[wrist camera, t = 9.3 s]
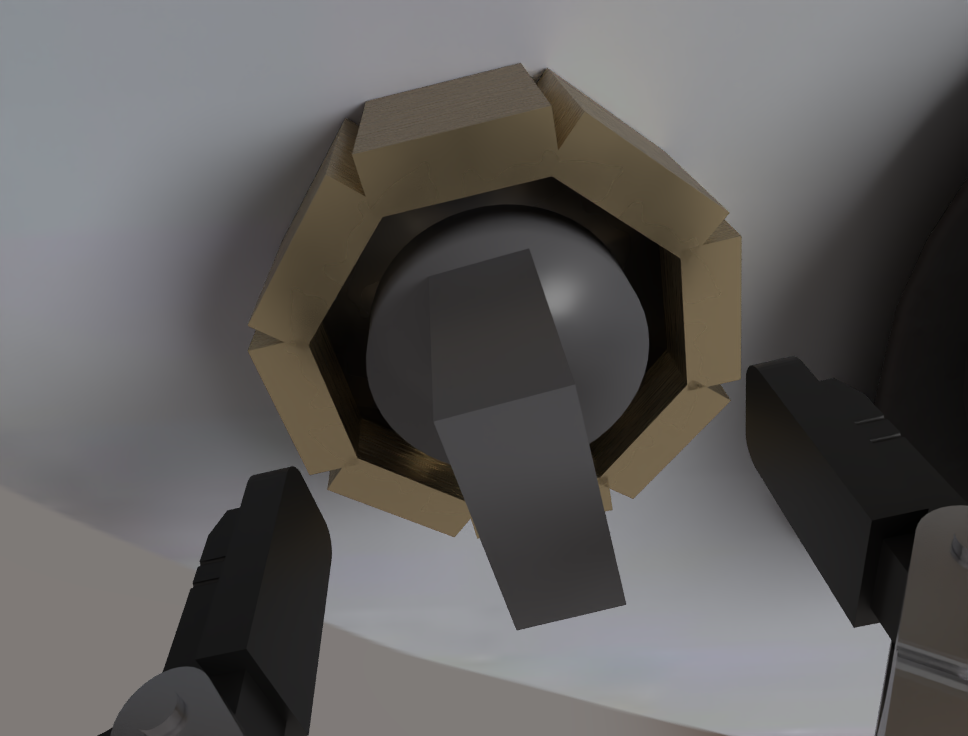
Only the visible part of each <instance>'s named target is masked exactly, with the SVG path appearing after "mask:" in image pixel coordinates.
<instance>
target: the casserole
mask: <svg viewBox="0 0 968 736" xmlns="http://www.w3.org/2000/svg"><path fill="white" fill-rule="evenodd" d="M874 405H875V406H876V407H877V408H878V409H879V410H880V411H881V412H882V413H883V414H884V418H885V420H886V419H888V420H889V421H890V422H891V423H892V424H893V425H894V426H895V427H896V428H897V429H898V430H899V431H900V434H901V437H905V438H906V439H907V440H908V441H909V442H910V443H911V444H912V445H913V446H914V447H915V448H916V450H917V451H918V452H919V453H920V454H921V455H922V456H923V457H924V458H925V459H926V460H927V461H928V462H929V463H930V464H931V466H932V467H933V468H934V469H935V470H936V471H937V472H938V473H939V474H940V475H941V476H942V477H943V478H944V479H945V480H946V482H947V483H948V484H949V485H950V486H951V487H952V488H953V489H954V490H955V491H956V492H957V493H958V494H959V495H960V496H961V497H962V499H963V500H964V501H965V502H966V503H967V504H968V178H967V179H966V181H965V182H964V184H963V185H962V187H961V188H960V190H959V191H958V193H957V194H956V196H955V198H954V199H953V201H952V202H951V204H950V205H949V207H948V208H947V210H946V211H945V213H944V214H943V216H942V217H941V219H940V220H939V222H938V224H937V225H936V227H935V228H934V230H933V231H932V233H931V234H930V236H929V237H928V239H927V241H926V243H925V246H924V248H923V250H922V252H921V254H920V257H919V259H918V261H917V263H916V265H915V268H914V270H913V272H912V274H911V276H910V279H909V281H908V283H907V285H906V287H905V290H904V292H903V294H902V296H901V298H900V301H899V303H898V305H897V308H896V312H895V316H894V320H893V325H892V329H891V333H890V337H889V342H888V346H887V350H886V354H885V359H884V363H883V367H882V372H881V376H880V380H879V385H878V389H877V394H876V398H875V402H874Z"/></svg>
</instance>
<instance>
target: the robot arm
mask: <svg viewBox="0 0 968 736" xmlns="http://www.w3.org/2000/svg"><path fill="white" fill-rule="evenodd" d="M746 441H747V446H748V450H749V453H750V456H751V459H752V461H753V464H754V466H755V468H756V469H757V471H758V473H759V474H760V476H761V478H762V479H763V481H764V482H765V484H766V486H767V487H768V489H769V491H770V492H771V494H772V495H773V497H774V499H775V500H776V502H777V504H778V505H779V507H780V508H781V510H782V512H783V513H784V515H785V517H786V518H787V520H788V521H789V523H790V525H791V526H792V528H793V530H794V531H795V533H796V534H797V536H798V538H799V539H800V541H801V543H802V544H803V546H804V547H805V549H806V551H807V552H808V554H809V556H810V557H811V559H812V560H813V562H814V564H815V565H816V567H817V569H818V570H819V572H820V573H821V575H822V577H823V578H824V580H825V581H826V583H827V585H828V586H829V588H830V590H831V591H832V593H833V594H834V596H835V598H836V599H837V601H838V603H839V604H840V606H841V607H842V609H843V611H844V612H845V614H846V616H847V617H848V619H849V620H850V622H851V624H852V625H853V627H854V628H855V627H860V626H865V625H870V624H875V623H881V625H882V626H883V628H884V629H885V631H886V632H887V634H888V635H889V637H890V638H891V644H890V648H889V654H888V660H887V665H886V671H885V677H884V683H883V689H882V695H881V701H880V706H879V712H878V718H877V724H876V730H875V736H968V504H967V503H966V502H965V501H964V500H963V499H962V497H961V496H960V495H959V494H958V493H957V492H956V491H955V490H954V489H953V488H952V487H951V486H950V485H949V484H948V483H947V482H946V480H945V479H944V478H943V477H942V476H941V475H940V474H939V473H938V472H937V471H936V470H935V469H934V468H933V467H932V466H931V464H930V463H929V462H928V461H927V460H926V459H925V458H924V457H923V456H922V455H921V454H920V453H919V452H918V451H917V450H916V448H915V447H914V446H913V445H912V444H911V443H910V442H909V441H908V440H907V439H906V438H905V437H901V434H900V431H899V430H898V429H897V428H896V427H895V426H894V425H893V424H892V423H891V422H890V421H889V420H888V419H886V420H885V418H884V414H883V413H882V412H881V411H880V410H879V409H878V408H877V407H876V406H875V405H874V404H873V403H872V402H871V401H870V399H869V398H868V397H867V396H866V395H865V394H864V393H862V392H860V391H858V390H856V389H854V388H852V387H850V386H848V385H847V384H845V383H843V382H841V381H839V380H837V379H835V378H833V379H828V380H824V381H818V380H817V379H816V377H815V376H814V375H813V374H812V373H811V372H810V370H809V369H808V368H807V367H806V366H805V365H804V364H803V362H802V361H801V360H800V359H798V358H797V357H794V356H793V357H788V358H783V359H779V360H774V361H770V362H765V363H761V364H756V365H752V366H749V368H748V370H747V373H746ZM331 559H332V546H331V539H330V534H329V530H328V527H327V524H326V522H325V520H324V518H323V516H322V514H321V512H320V510H319V508H318V506H317V504H316V502H315V500H314V498H313V497H312V495H311V493H310V491H309V489H308V487H307V485H306V483H305V481H304V479H303V477H302V475H301V473H300V472H299V470H298V469H297V468H296V467H288V468H283V469H279V470H274V471H270V472H265V473H261V474H256V475H253V476H251V477H250V478H249V480H248V483H247V486H246V489H245V493H244V496H243V499H242V503H241V506H240V508H237V509H232V510H227V512H226V513H225V514H224V516H223V517H222V518H221V520H220V521H219V522H218V524H217V525H216V526H215V527H214V529H213V530H212V531H211V533H210V534H209V535H208V538H207V541H206V544H205V547H204V550H203V553H202V556H201V559H200V566H199V567H198V568H197V571H196V574H195V577H194V580H193V588H191V589H190V592H189V595H188V598H187V602H186V604H185V608H184V610H183V613H182V616H181V619H180V622H179V625H178V628H177V631H176V634H175V637H174V640H173V643H172V646H171V649H170V652H169V655H168V658H167V661H166V664H165V667H164V670H163V672H162V673H161V674H159V675H157V676H155V677H153V678H152V679H150V680H149V681H148V682H146V683H145V684H144V685H143V686H142V687H140V688H139V689H138V690H137V691H136V692H135V693H134V694H133V695H132V696H131V697H130V699H129V700H128V701H127V702H126V703H125V705H124V706H123V708H122V709H121V711H120V712H119V714H118V716H117V718H116V720H115V722H114V725H113V728H111V729H109V730H108V731H106V732H104V733H102V734H100V735H98V736H307V735H309V728H310V720H311V713H312V705H313V697H314V689H315V682H316V674H317V667H318V659H319V651H320V643H321V635H322V628H323V621H324V613H325V605H326V598H327V590H328V582H329V575H330V567H331Z"/></svg>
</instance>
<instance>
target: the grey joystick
mask: <svg viewBox="0 0 968 736" xmlns="http://www.w3.org/2000/svg"><path fill="white" fill-rule="evenodd" d="M648 352H649V334H648V326H647V322H646V317H645V313H644V311H643V308H642V306H641V303H640V301H639V298H638V297H637V295H636V293H635V292H634V290H633V288H632V286H631V285H630V283H629V281H628V279H627V278H626V276H625V274H624V273H623V271H622V269H621V267H620V266H619V264H618V262H617V261H616V259H615V257H614V256H613V254H612V253H611V251H610V250H609V249H608V248H607V247H606V246H605V244H604V243H603V242H602V241H601V240H600V239H599V238H598V237H597V236H595V235H594V234H593V233H592V232H591V231H590V230H588V229H587V228H585V227H584V226H582V225H581V224H579V223H578V222H576V221H574V220H572V219H570V218H568V217H566V216H564V215H562V214H559V213H556V212H553V211H550V210H547V209H543V208H539V207H533V206H527V205H513V204H501V205H490V206H483V207H478V208H474V209H469V210H465V211H463V212H460V213H457V214H454V215H451V216H449V217H447V218H445V219H443V220H441V221H439V222H437V223H435V224H433V225H431V226H430V227H428V228H427V229H425V230H424V231H422V232H421V233H419V234H418V235H417V236H416V237H414V238H413V239H412V240H411V241H410V242H409V243H408V244H407V245H405V246H404V247H403V248H402V250H401V251H400V252H399V253H398V254H397V255H396V257H395V258H394V259H393V260H392V262H391V263H390V265H389V266H388V268H387V269H386V271H385V273H384V274H383V276H382V278H381V281H380V283H379V285H378V287H377V289H376V293H375V296H374V300H373V304H372V310H371V318H370V326H369V335H368V344H367V352H366V369H367V377H368V382H369V387H370V390H371V393H372V395H373V398H374V401H375V403H376V405H377V407H378V408H379V410H380V412H381V414H382V416H383V417H384V418H385V420H386V421H387V422H388V424H389V425H390V426H391V427H392V428H393V429H394V430H395V431H396V432H397V433H398V434H399V435H400V436H401V437H402V438H403V439H404V440H405V441H407V442H408V443H409V444H411V445H412V446H413V447H414V448H416V449H418V450H420V451H421V452H423V453H425V454H426V455H428V456H430V457H433V458H435V459H437V460H439V461H442V462H445V463H448V464H450V465H451V467H452V470H453V472H454V475H455V477H456V480H457V482H458V485H459V487H460V490H461V492H462V495H463V497H464V500H465V502H466V505H467V507H468V510H469V512H470V515H471V517H472V520H473V522H474V525H475V527H476V530H477V532H478V535H479V537H480V540H481V542H482V545H483V547H484V550H485V552H486V555H487V557H488V560H489V562H490V565H491V567H492V570H493V572H494V575H495V577H496V580H497V582H498V585H499V587H500V590H501V592H502V595H503V597H504V600H505V602H506V605H507V607H508V610H509V612H510V615H511V617H512V620H513V622H514V625H515V627H516V630H521V629H525V628H529V627H533V626H538V625H542V624H546V623H550V622H555V621H559V620H563V619H567V618H572V617H576V616H580V615H584V614H589V613H593V612H597V611H601V610H606V609H610V608H614V607H618V606H623V605H626V601H625V597H624V592H623V588H622V584H621V580H620V575H619V571H618V567H617V562H616V558H615V554H614V549H613V545H612V541H611V536H610V532H609V528H608V524H607V519H606V515H605V511H604V506H603V502H602V498H601V493H600V489H599V485H598V480H597V476H596V472H595V468H594V463H593V459H592V455H591V450H590V446H589V444H590V443H591V442H593V441H594V440H596V439H597V438H599V437H600V436H601V435H602V434H603V433H604V432H606V431H607V430H608V429H609V428H610V427H611V426H612V425H613V424H614V423H615V422H616V421H617V420H618V419H619V418H620V417H621V416H622V414H623V413H624V411H625V410H626V409H627V407H628V406H629V405H630V403H631V402H632V400H633V398H634V396H635V394H636V393H637V391H638V389H639V387H640V384H641V381H642V379H643V376H644V373H645V369H646V365H647V361H648Z"/></svg>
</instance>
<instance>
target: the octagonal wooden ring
mask: <svg viewBox="0 0 968 736" xmlns="http://www.w3.org/2000/svg"><path fill="white" fill-rule="evenodd" d="M501 204H513V205H527V206H533V207H539V208H543V209H547V210H550V211H553V212H556V213H559V214H562V215H564V216H566V217H568V218H570V219H572V220H574V221H576V222H578V223H579V224H581V225H582V226H584V227H585V228H587V229H588V230H590V231H591V232H592V233H593V234H594V235H595V236H597V237H598V238H599V239H600V240H601V241H602V242H603V243H604V244H605V246H606V247H607V248H608V249H609V250H610V251H611V253H612V254H613V256H614V257H615V259H616V261H617V262H618V264H619V266H620V267H621V269H622V271H623V273H624V274H625V276H626V278H627V279H628V281H629V283H630V285H631V286H632V288H633V290H634V292H635V293H636V295H637V297H638V298H639V301H640V303H641V306H642V308H643V311H644V313H645V317H646V322H647V326H648V334H649V352H648V361H647V365H646V369H645V373H644V376H643V379H642V381H641V384H640V387H639V389H638V391H637V393H636V394H635V396H634V398H633V400H632V402H631V403H630V405H629V406H628V407H627V409H626V410H625V411H624V413H623V414H622V416H621V417H620V418H619V419H618V420H617V421H616V422H615V423H614V424H613V425H612V426H611V427H610V428H609V429H608V430H607V431H606V432H604V433H603V434H602V435H601V436H600V437H599V438H597V439H596V440H594V441H593V442H591V443H590V444H589V446H590V450H591V455H592V459H593V463H594V468H595V472H596V476H597V480H598V485H599V489H600V493H601V498H602V502H603V506H604V511H609V510H613V509H612V503H611V496H610V490H609V488H610V489H612V490H614V491H617V492H619V493H621V494H623V495H626V496H628V497H630V498H632V499H634V498H635V497H636V496H637V495H638V494H639V493H640V492H641V491H642V490H643V489H644V488H645V487H646V486H647V484H648V483H649V482H650V481H651V480H652V479H653V478H654V477H655V476H656V475H657V474H658V473H659V472H660V471H661V470H662V469H663V468H664V467H665V466H666V465H667V464H668V463H669V462H670V461H671V460H672V459H673V458H674V457H675V456H676V455H677V454H678V453H679V452H680V451H681V450H682V449H683V448H684V447H685V446H686V445H687V444H688V443H689V442H690V441H691V440H692V439H693V438H694V437H695V436H696V435H697V434H698V433H699V432H700V431H701V430H702V429H703V428H704V427H705V426H706V425H707V424H708V423H709V422H710V421H711V420H712V419H713V418H714V417H715V416H716V415H717V414H718V413H719V412H720V411H721V410H722V409H723V408H724V407H725V406H726V405H727V404H728V403H729V402H730V401H731V400H730V399H729V397H728V395H727V394H726V392H725V391H724V389H723V388H722V386H721V385H720V384H722V383H727V382H731V381H736V380H740V379H741V235H740V234H739V233H738V232H737V231H736V230H734V229H733V228H732V227H731V226H730V225H729V224H728V223H727V222H726V221H725V220H724V219H725V218H726V216H727V215H728V214H729V212H728V211H727V210H726V209H725V208H724V207H723V206H722V205H721V204H720V203H719V202H718V201H717V200H716V199H715V198H714V197H712V196H711V195H710V194H709V193H708V192H707V191H706V190H705V189H704V188H703V187H702V186H701V185H700V184H699V183H698V182H697V181H696V180H694V179H693V178H692V177H691V176H690V175H689V174H688V173H687V172H686V171H685V170H684V169H683V168H682V167H681V166H680V165H679V164H678V163H676V162H675V161H674V160H673V159H672V158H671V157H670V156H669V155H668V154H667V153H666V152H665V151H663V150H662V149H661V148H659V147H658V146H656V145H655V144H654V143H652V142H651V141H649V140H648V139H647V138H645V137H644V136H642V135H641V134H640V133H638V132H637V131H635V130H634V129H632V128H631V127H630V126H628V125H627V124H625V123H624V122H623V121H621V120H620V119H618V118H617V117H616V116H614V115H613V114H611V113H610V112H609V111H607V110H606V109H604V108H603V107H602V106H600V105H599V104H597V103H596V102H595V101H593V100H592V99H590V98H589V97H587V96H586V95H585V94H583V93H582V92H580V91H579V90H578V89H576V88H575V87H573V86H572V85H571V84H569V83H568V82H566V81H565V80H564V79H562V78H561V77H559V76H558V75H557V74H555V73H554V72H552V71H551V70H549V69H548V68H547V69H546V70H545V72H544V73H543V75H542V76H541V78H540V80H539V81H538V83H537V84H536V83H535V82H534V81H533V79H532V78H531V76H530V75H529V74H528V72H527V71H526V69H525V68H524V67H523V65H522V64H521V63H518V64H514V65H510V66H506V67H502V68H498V69H494V70H490V71H486V72H482V73H478V74H474V75H470V76H466V77H462V78H458V79H454V80H450V81H446V82H442V83H438V84H434V85H430V86H426V87H422V88H418V89H414V90H410V91H406V92H402V93H398V94H394V95H390V96H386V97H382V98H378V99H374V100H370V101H366V103H365V107H364V111H363V115H362V119H361V122H360V126H358V125H357V124H355V123H353V122H352V121H350V120H348V119H347V118H345V120H344V122H343V124H342V126H341V128H340V129H339V131H338V133H337V135H336V137H335V139H334V141H333V143H332V145H331V147H330V149H329V151H328V153H327V155H326V157H325V159H324V161H323V163H322V165H321V167H320V169H319V171H318V173H317V174H316V176H315V178H314V180H313V182H312V184H311V186H310V188H309V190H308V192H307V194H306V196H305V198H304V200H303V202H302V204H301V206H300V208H299V210H298V212H297V214H296V216H295V218H294V219H293V221H292V223H291V225H290V227H289V229H288V231H287V233H286V235H285V237H284V239H283V241H282V243H281V245H280V248H279V250H278V253H277V255H276V257H275V260H274V262H273V265H272V267H271V270H270V272H269V275H268V277H267V279H266V282H265V284H264V287H263V289H262V292H261V294H260V296H259V299H258V301H257V304H256V306H255V309H254V311H253V314H252V316H251V318H250V321H249V323H248V326H249V327H252V328H254V329H256V331H255V334H254V336H253V339H252V341H251V344H250V347H249V349H248V352H249V354H250V356H251V358H252V360H253V362H254V364H255V366H256V368H257V370H258V372H259V375H260V377H261V379H262V381H263V383H264V385H265V387H266V389H267V391H268V393H269V395H270V397H271V399H272V401H273V403H274V405H275V407H276V409H277V411H278V413H279V415H280V417H281V419H282V421H283V423H284V425H285V427H286V429H287V431H288V433H289V435H290V437H291V439H292V441H293V443H294V445H295V447H296V449H297V451H298V453H299V455H300V457H301V459H302V461H303V463H304V465H305V467H306V469H307V471H308V473H309V475H312V474H317V473H321V472H326V471H330V475H329V481H328V488H327V490H330V491H332V492H335V493H338V494H340V495H343V496H346V497H348V498H351V499H354V500H356V501H359V502H362V503H364V504H367V505H370V506H372V507H375V508H378V509H380V510H383V511H386V512H388V513H391V514H394V515H396V516H399V517H402V518H404V519H407V520H410V521H412V522H415V523H418V524H420V525H423V526H426V527H428V528H431V529H434V530H436V531H439V532H442V533H444V534H447V535H450V536H452V537H455V536H456V535H457V534H458V533H459V531H460V530H461V529H462V528H463V527H464V526H465V524H466V523H467V522H468V521H469V520H470V518H471V520H472V517H471V515H470V512H469V510H468V507H467V505H466V502H465V500H464V497H463V495H462V492H461V490H460V487H459V485H458V482H457V480H456V477H455V475H454V472H453V470H452V467H451V465H450V464H448V463H445V462H442V461H439V460H437V459H435V458H433V457H430V456H428V455H426V454H425V453H423V452H421V451H420V450H418V449H416V448H414V447H413V446H412V445H411V444H409V443H408V442H407V441H405V440H404V439H403V438H402V437H401V436H400V435H399V434H398V433H397V432H396V431H395V430H394V429H393V428H392V427H391V426H390V425H389V424H388V422H387V421H386V420H385V418H384V417H383V416H382V414H381V412H380V410H379V408H378V407H377V405H376V403H375V401H374V398H373V395H372V393H371V390H370V387H369V382H368V377H367V369H366V352H367V344H368V335H369V326H370V318H371V310H372V304H373V300H374V296H375V293H376V289H377V287H378V285H379V283H380V281H381V278H382V276H383V274H384V273H385V271H386V269H387V268H388V266H389V265H390V263H391V262H392V260H393V259H394V258H395V257H396V255H397V254H398V253H399V252H400V251H401V250H402V248H403V247H404V246H405V245H407V244H408V243H409V242H410V241H411V240H412V239H413V238H414V237H416V236H417V235H418V234H419V233H421V232H422V231H424V230H425V229H427V228H428V227H430V226H431V225H433V224H435V223H437V222H439V221H441V220H443V219H445V218H447V217H449V216H451V215H454V214H457V213H460V212H463V211H465V210H469V209H474V208H478V207H483V206H490V205H501ZM472 523H473V526H474V530H475V533H476V536H477V539H478V538H480V537H479V535H478V532H477V530H476V527H475V525H474V522H473V520H472Z"/></svg>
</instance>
